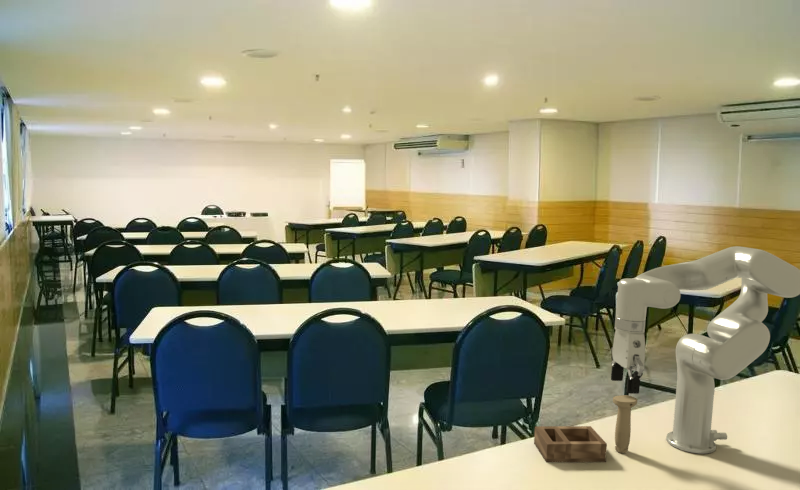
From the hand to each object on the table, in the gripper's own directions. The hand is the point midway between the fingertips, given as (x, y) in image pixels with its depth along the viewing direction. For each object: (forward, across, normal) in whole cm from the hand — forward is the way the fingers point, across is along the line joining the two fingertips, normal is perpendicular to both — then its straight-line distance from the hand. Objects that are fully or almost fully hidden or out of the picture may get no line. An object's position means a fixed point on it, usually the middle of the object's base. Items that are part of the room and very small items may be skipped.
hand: (624, 386), depth 160 cm
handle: (+19, 0, -1) cm, 19 cm away
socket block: (+19, 0, +14) cm, 23 cm away
